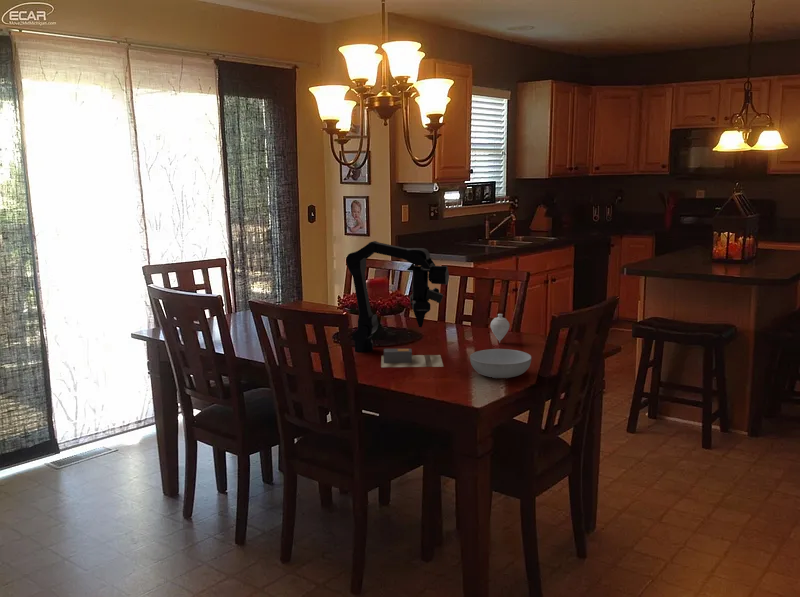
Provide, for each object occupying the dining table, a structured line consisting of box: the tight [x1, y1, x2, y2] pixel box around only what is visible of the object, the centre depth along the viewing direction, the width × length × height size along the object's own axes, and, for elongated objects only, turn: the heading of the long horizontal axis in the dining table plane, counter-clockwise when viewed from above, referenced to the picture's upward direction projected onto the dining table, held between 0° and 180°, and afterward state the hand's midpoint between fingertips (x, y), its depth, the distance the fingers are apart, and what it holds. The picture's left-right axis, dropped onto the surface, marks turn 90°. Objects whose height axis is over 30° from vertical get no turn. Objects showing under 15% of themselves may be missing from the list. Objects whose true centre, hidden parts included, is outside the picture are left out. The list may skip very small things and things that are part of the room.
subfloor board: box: [380, 354, 445, 368], centre depth 262 cm, size 22×16×2 cm
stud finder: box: [383, 348, 413, 363], centre depth 262 cm, size 10×5×4 cm, turn 91°
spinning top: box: [490, 313, 511, 344], centre depth 294 cm, size 8×8×12 cm
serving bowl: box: [469, 348, 533, 379], centre depth 249 cm, size 21×21×7 cm
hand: (419, 324), depth 269 cm, fingers open, 9 cm apart
